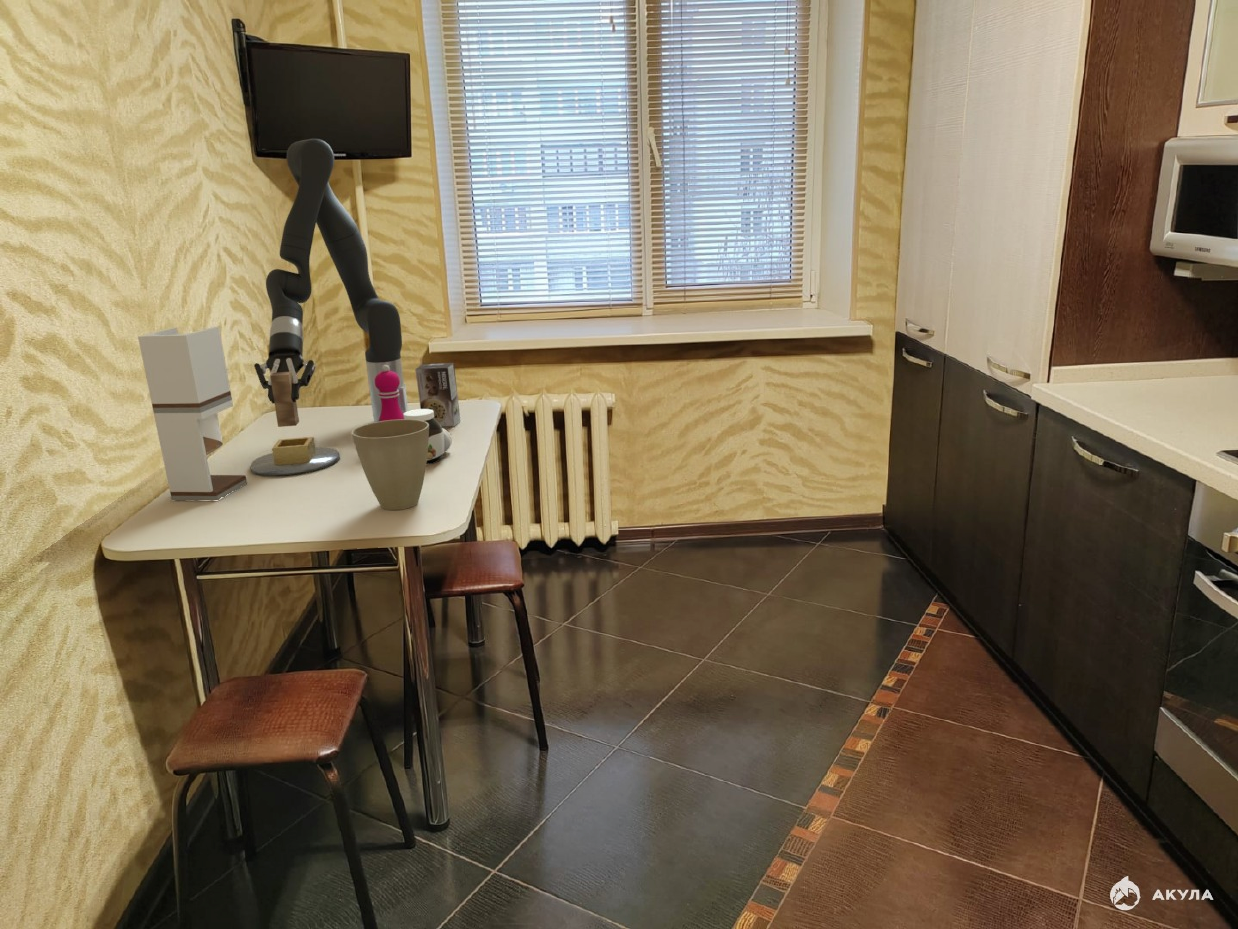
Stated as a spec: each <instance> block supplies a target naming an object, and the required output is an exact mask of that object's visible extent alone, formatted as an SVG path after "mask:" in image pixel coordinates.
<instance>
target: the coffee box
mask: <svg viewBox="0 0 1238 929" xmlns="http://www.w3.org/2000/svg"><path fill="white" fill-rule="evenodd" d="M414 370H415V376H416V384H417V385H416V386H417V391H418V400H419V409H431V410H433V411H434V419H436V420H437V421H438V422H439V423H440V425H441V426H442V428H443V427H446V428H447V427H455V426H457V425H458V424H459V423H460V422H461V416H460V414H461V413H460V406H459V405H460V403H459V396H458V395H459V394H458V388H457V387H458V386H457V379H456V370H455V363H454V362H444V363H441V362H440V363H422V364H421V365H419V366H418V367H416V368H415V369H414Z"/></svg>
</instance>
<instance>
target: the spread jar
mask: <svg viewBox="0 0 1238 929" xmlns="http://www.w3.org/2000/svg"><path fill="white" fill-rule="evenodd" d="M404 419H413V420H421V421H425V422H427V423H428V424H429V440H428V455H427V463H426V465H429V464H430V465H431V464H434V462H435V463H437V462H439V460H441V459H442V457H443V456H444V453H446V452H447V451H448V450H449V449H450V447H451V445H452V443H453V437H452V436H451V434H450V433H449V431H448V430H446V429H445V428H443V427H442V426H441V425H440V423H439V422H438V421H437V420H436V419H434V411H433V410H431V409H421V408H417V409H412V410H408V411H407V412H405V413H404ZM436 461H437V462H436Z"/></svg>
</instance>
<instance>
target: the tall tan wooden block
mask: <svg viewBox="0 0 1238 929" xmlns="http://www.w3.org/2000/svg"><path fill="white" fill-rule="evenodd" d="M270 377H271V384H272V390H273V395H274V403H273V404H274V409H275V416H276V423H277V427H279V428H282V427H283V428H284V427H296V426H297V425H298V424H299V422H300V418H299V411H298V405H297V404H298V403H297V401H296V402H293V401H292V399H291V392H292V384H293V381H292V372H277V373H273V374H272V375H271V376H269V378H270Z"/></svg>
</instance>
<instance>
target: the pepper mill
mask: <svg viewBox="0 0 1238 929" xmlns="http://www.w3.org/2000/svg"><path fill="white" fill-rule="evenodd" d="M382 370H383V372H380V373H378V374H377V376H376V377H375V386H376V387H377V388H378V389H379V392H378V394H379V398H381V404H382V409H381V414H380V418H379V421H378V422H380V421H387V420H397V419H404V414H403V413H402V411H401V409H400V406H399V402H398V396H399V390H398V389H397V388H398V386H399V384H400V379H399V377H398V375H397V374H396V373H395V372H392V371H389V366H388V365H383V366H382Z"/></svg>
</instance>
